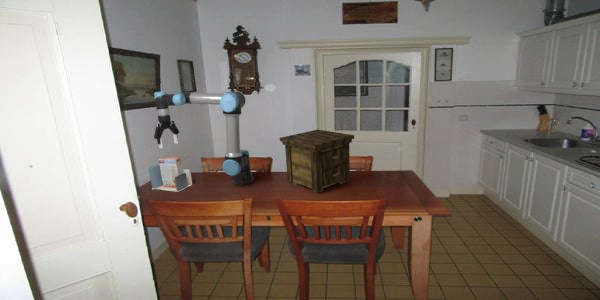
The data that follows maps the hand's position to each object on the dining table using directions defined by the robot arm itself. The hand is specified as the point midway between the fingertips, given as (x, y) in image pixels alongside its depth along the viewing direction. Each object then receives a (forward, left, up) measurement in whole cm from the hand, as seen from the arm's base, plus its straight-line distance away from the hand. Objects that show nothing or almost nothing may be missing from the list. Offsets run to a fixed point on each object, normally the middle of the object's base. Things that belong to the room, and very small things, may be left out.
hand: (169, 145), depth 209 cm
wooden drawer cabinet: (-95, -34, -31) cm, 106 cm away
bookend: (-9, +3, -29) cm, 31 cm away
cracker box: (+1, +1, -30) cm, 30 cm away
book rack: (+2, +1, -31) cm, 31 cm away
